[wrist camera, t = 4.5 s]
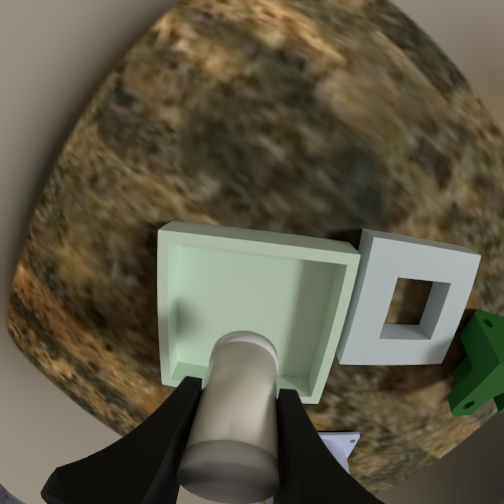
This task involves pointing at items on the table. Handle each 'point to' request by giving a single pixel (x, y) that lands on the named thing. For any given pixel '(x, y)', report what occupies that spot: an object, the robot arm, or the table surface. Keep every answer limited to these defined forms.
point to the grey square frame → (381, 291)
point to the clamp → (480, 365)
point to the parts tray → (252, 299)
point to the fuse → (235, 424)
